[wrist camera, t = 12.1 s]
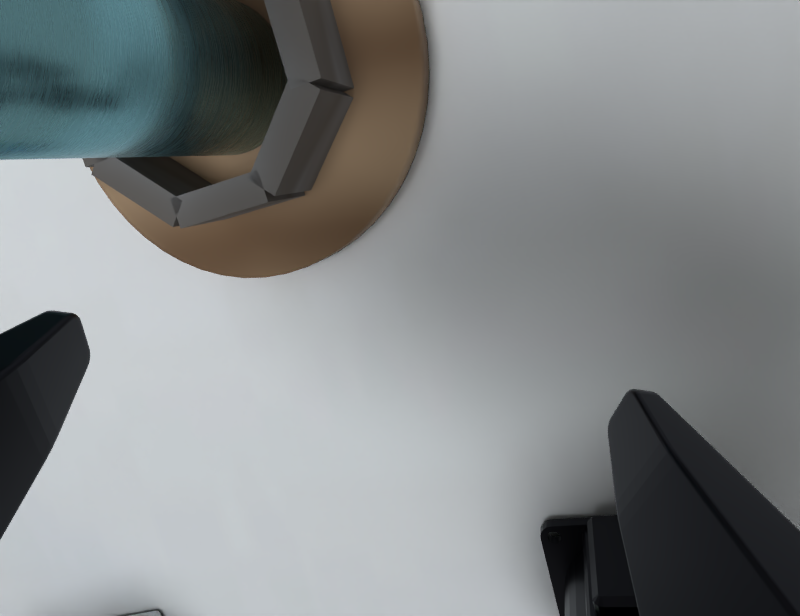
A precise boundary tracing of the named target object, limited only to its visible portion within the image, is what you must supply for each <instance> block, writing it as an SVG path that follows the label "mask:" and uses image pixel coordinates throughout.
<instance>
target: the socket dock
mask: <svg viewBox="0 0 800 616" xmlns="http://www.w3.org/2000/svg"><path fill="white" fill-rule="evenodd" d="M237 1H239V2H241V3H243V4H245V5H247V6H249V7H251V8H252V9H254V10H255V11H256V12H258V13H259V14H260V15H261V16H262V17H263V18H264V19H265V20H266V21H267V22H268V23H269V25H270V26H271V27H272V29H273V33H274V36H275V39H276V43H277V46H278V49H279V53H280V56H281V59H282V63H283V66H284V69H285V73H286V76H287V80H288V81H287V84H286V86H285V89H284V91H283V94H282V96H281V99H280V101H279V104H278V106H277V108H276V111H275V113H274V116H273V118H272V121H271V123H270V126H269V128H268V131H267V133H266V136H265V138H264V141H263V143H262V145H260V146H259V147H257V148H256V149H254V150H252V151H249V152H247V153H243V154H239V155H223V156H169V157H115V158H83V161H84V164H85V166H86V167H90V169H91V171H92V175H93V176H95V178H96V180H97V182H98V183H99V185H100V186H101V188H102V189H103V191H104V192H105V193H106V195H107V196H108V198H109V199H110V201H111V202H112V204H113V205H114V206H115V207H116V208H117V209H118V211H119V212H120V213H121V214H122V215H123V216H124V217H125V219H126V220H127V221H128V222H129V223H130V224H131V225H132V226H133V227H134V228H135V229H137V230H138V231H139V232H140V233H141V234H142V235H143V236H144V237H145V238H147V239H148V240H149V241H151V242H152V243H153V244H155V245H156V246H157V247H159V248H160V249H161V250H163V251H164V252H166V253H168V254H170V255H171V256H173V257H175V258H177V259H178V260H180V261H182V262H184V263H187V264H189V265H192V266H194V267H196V268H199V269H201V270H205V271H209V272H212V273H216V274H220V275H225V276H233V277H241V278H258V277H270V276H276V275H282V274H287V273H290V272H293V271H296V270H299V269H302V268H305V267H308V266H310V265H312V264H314V263H316V262H319V261H321V260H323V259H325V258H327V257H329V256H331V255H333V254H335V253H337V252H339V251H340V250H342V249H343V248H345V247H346V246H347V245H349V244H350V243H352V242H353V241H355V240H356V239H357V238H359V237H360V236H361V235H362V234H363V233H364V232H365V231H366V230H367V229H368V228H369V227H370V226H371V225H373V224H374V223H375V222H376V220H377V219H378V218H379V217H380V215H381V214H382V213H383V212H384V210H385V209H386V208H387V207H388V206H389V204H390V203H391V201H392V200H393V198H394V196H395V195H396V193H397V192H398V190H399V188H400V187H401V185H402V183H403V182H404V180H405V177H406V175H407V173H408V171H409V168H410V166H411V164H412V162H413V160H414V157H415V154H416V151H417V147H418V144H419V141H420V138H421V134H422V131H423V126H424V120H425V115H426V109H427V103H428V88H429V58H428V42H427V37H426V31H425V26H424V20H423V15H422V11H421V7H420V4H419V1H418V0H237Z"/></svg>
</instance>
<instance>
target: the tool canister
mask: <svg viewBox="0 0 800 616" xmlns="http://www.w3.org/2000/svg"><path fill="white" fill-rule="evenodd" d="M287 81H288V80H287V76H286V73H285V69H284V66H283V63H282V59H281V56H280V53H279V49H278V46H277V43H276V39H275V36H274V33H273V29H272V27H271V26H270V25H269V23H268V22H267V21H266V20H265V19H264V18H263V17H262V16H261V15H260V14H259V13H258V12H256V11H255V10H254V9H252V8H251V7H249V6H247V5H245V4H243V3H241V2H239V1H237V0H0V160H6V159H61V158H115V157H169V156H223V155H239V154H243V153H247V152H249V151H252V150H254V149H256V148H257V147H259V146H260V145H262V143H263V141H264V138H265V136H266V133H267V131H268V128H269V126H270V123H271V121H272V118H273V116H274V113H275V111H276V108H277V106H278V104H279V101H280V99H281V96H282V94H283V91H284V89H285V86H286V84H287Z"/></svg>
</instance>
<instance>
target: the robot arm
mask: <svg viewBox="0 0 800 616" xmlns="http://www.w3.org/2000/svg"><path fill="white" fill-rule="evenodd" d="M89 361H90V349H89V346H88V343H87V339H86V336H85V333H84V329H83V326H82V323H81V320H80V318H79V317H78V316H77V315H76V314H73V313H67V312H60V311H46V312H44V313H41V314H39V315H37V316H35V317H33V318H31V319H29V320H27V321H25V322H23V323H21V324H19V325H17V326H15V327H13V328H11V329H9V330H7V331H5V332H3V333H1V334H0V539H1V538H2V536H3V534H4V532H5V531H6V529H7V527H8V525H9V524H10V522H11V520H12V518H13V517H14V515H15V513H16V511H17V510H18V508H19V506H20V504H21V503H22V501H23V499H24V497H25V496H26V494H27V492H28V490H29V489H30V487H31V485H32V483H33V482H34V480H35V478H36V476H37V475H38V473H39V471H40V469H41V468H42V466H43V464H44V462H45V461H46V459H47V457H48V455H49V453H50V451H51V449H52V448H53V445H54V443H55V441H56V439H57V437H58V435H59V432H60V430H61V428H62V425H63V423H64V421H65V418H66V416H67V414H68V411H69V409H70V407H71V404H72V402H73V400H74V397H75V395H76V393H77V390H78V388H79V386H80V383H81V381H82V379H83V376H84V374H85V372H86V369H87V367H88V364H89ZM608 438H609V447H610V456H611V465H612V474H613V483H614V492H615V501H616V508H617V515H608V516H593V517H590V518H572V519H555V520H548V521H546V522H544V523H543V524H542V526H541V541H542V545H543V550H544V554H545V558H546V562H547V566H548V570H549V574H550V578H551V582H552V586H553V590H554V594H555V598H556V602H557V606H558V610H559V614H560V616H800V531H799V530H798V529H797V528H796V527H795V526H794V525H793V524H792V523H791V522H790V521H789V520H788V519H787V518H786V517H785V516H784V515H783V514H782V513H781V512H780V511H779V510H778V509H777V508H776V507H774V506H773V505H772V504H771V503H770V502H769V501H768V500H767V499H766V498H765V497H764V496H763V495H762V494H761V493H760V492H759V491H758V490H757V489H756V488H755V487H754V486H753V485H752V484H751V483H750V482H749V481H747V480H746V479H745V478H744V477H743V476H742V475H741V474H740V473H739V472H738V471H737V470H736V469H735V468H734V467H733V466H732V465H731V464H730V463H729V462H728V461H727V460H726V459H725V458H724V457H723V456H722V455H720V454H719V453H718V452H717V451H716V450H715V449H714V448H713V447H712V446H711V445H710V444H709V443H708V442H707V441H706V440H705V439H704V438H703V437H702V436H701V435H700V434H699V433H698V432H697V431H696V430H695V429H693V428H692V427H691V426H690V425H689V424H688V423H687V422H686V421H685V420H684V419H683V418H682V417H681V416H680V415H679V414H678V413H677V412H676V411H675V410H674V409H673V408H672V407H671V406H670V405H669V404H668V403H666V402H665V401H664V400H663V399H662V398H661V397H660V396H659V395H658V394H656V393H655V392H652V391H644V390H637V389H632V390H629V391H628V392H627V393H626V394H625V396H624V397H623V399H622V401H621V402H620V404H619V406H618V407H617V409H616V410H615V412H614V414H613V415H612V417H611V419H610V421H609V425H608ZM550 532H556V533H558V534H559V536H556V537H555V536H551V535H550V534H549V533H550Z"/></svg>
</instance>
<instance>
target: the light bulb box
mask: <svg viewBox="0 0 800 616" xmlns="http://www.w3.org/2000/svg"><path fill="white" fill-rule="evenodd" d="M128 616H162V615H161V614H160V612H159V611H151V612H145V613H139V614H134V615H128Z"/></svg>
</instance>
